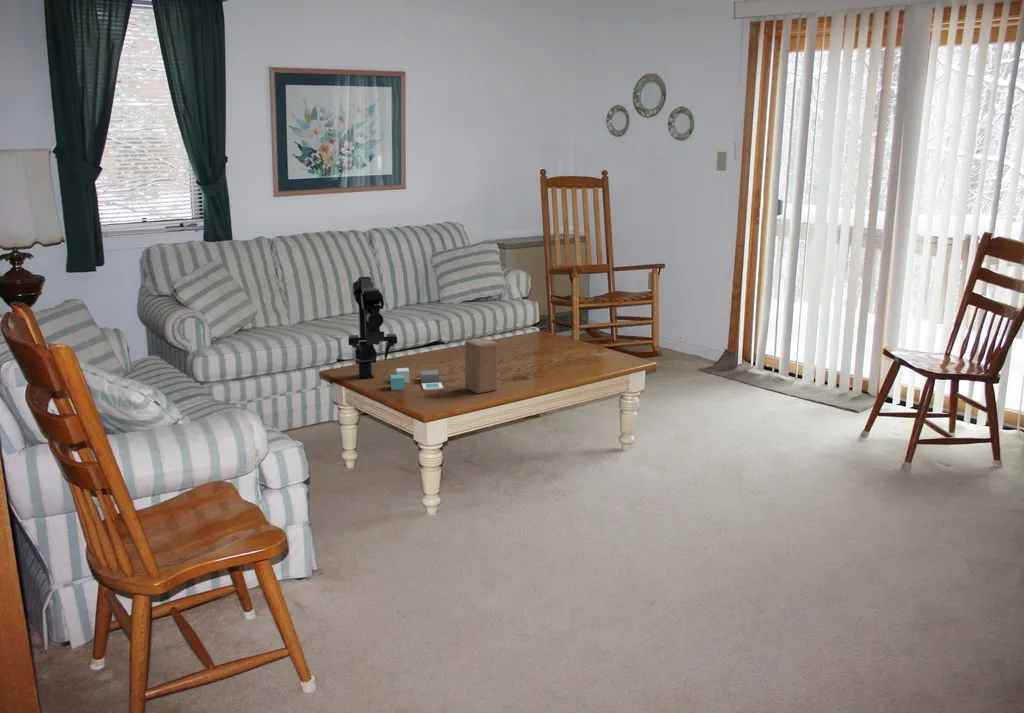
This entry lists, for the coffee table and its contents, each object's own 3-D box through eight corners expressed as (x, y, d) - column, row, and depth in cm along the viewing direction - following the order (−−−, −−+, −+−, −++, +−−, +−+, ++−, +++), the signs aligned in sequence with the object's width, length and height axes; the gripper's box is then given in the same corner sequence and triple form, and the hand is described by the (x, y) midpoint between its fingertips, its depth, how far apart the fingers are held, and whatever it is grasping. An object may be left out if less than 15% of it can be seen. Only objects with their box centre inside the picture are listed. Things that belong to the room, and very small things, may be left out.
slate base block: (420, 379, 377) (420, 370, 376) (437, 379, 378) (437, 369, 377) (422, 384, 370) (422, 375, 369) (439, 383, 372) (439, 374, 371)
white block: (396, 380, 376) (396, 368, 375) (408, 379, 377) (408, 367, 376) (397, 383, 371) (397, 371, 370) (409, 382, 372) (409, 371, 371)
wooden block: (478, 394, 356) (477, 345, 351) (464, 388, 364) (463, 340, 359) (498, 390, 362) (498, 341, 357) (484, 384, 369) (484, 337, 364)
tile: (421, 384, 369) (421, 383, 368) (441, 383, 370) (441, 382, 370) (423, 390, 361) (423, 388, 361) (443, 389, 363) (443, 387, 362)
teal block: (390, 387, 366) (390, 375, 365) (403, 386, 367) (402, 374, 366) (391, 390, 361) (391, 378, 360) (404, 389, 362) (403, 377, 361)
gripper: (347, 327, 339) (349, 367, 344) (397, 325, 343) (398, 365, 347) (347, 320, 350) (349, 359, 354) (396, 319, 353) (397, 357, 357)
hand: (373, 360), depth 353 cm, fingers open, 9 cm apart
